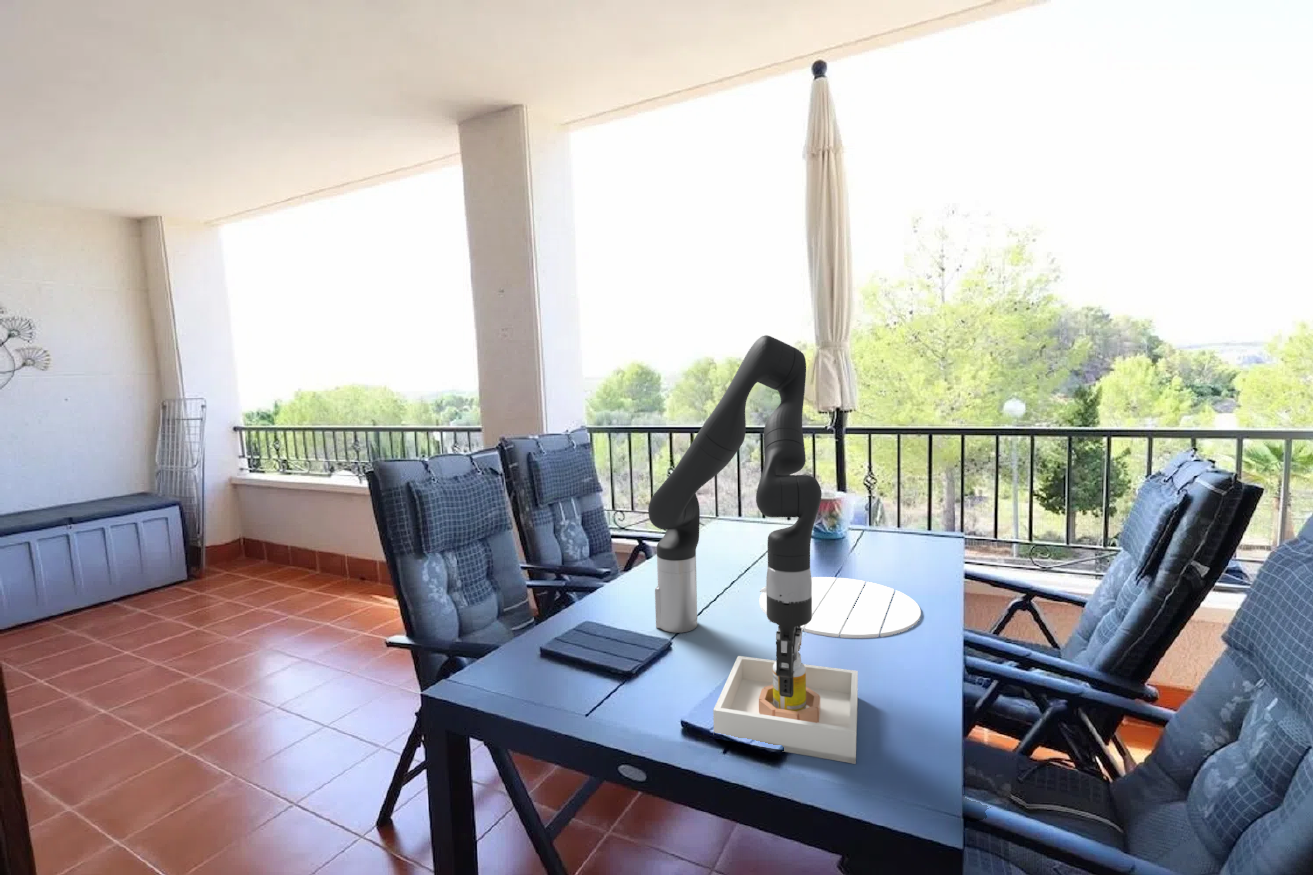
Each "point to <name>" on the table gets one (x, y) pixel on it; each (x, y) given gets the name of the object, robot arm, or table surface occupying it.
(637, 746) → the table surface
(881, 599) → the white round slatted board
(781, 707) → the supplement bottle
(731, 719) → the walled box
